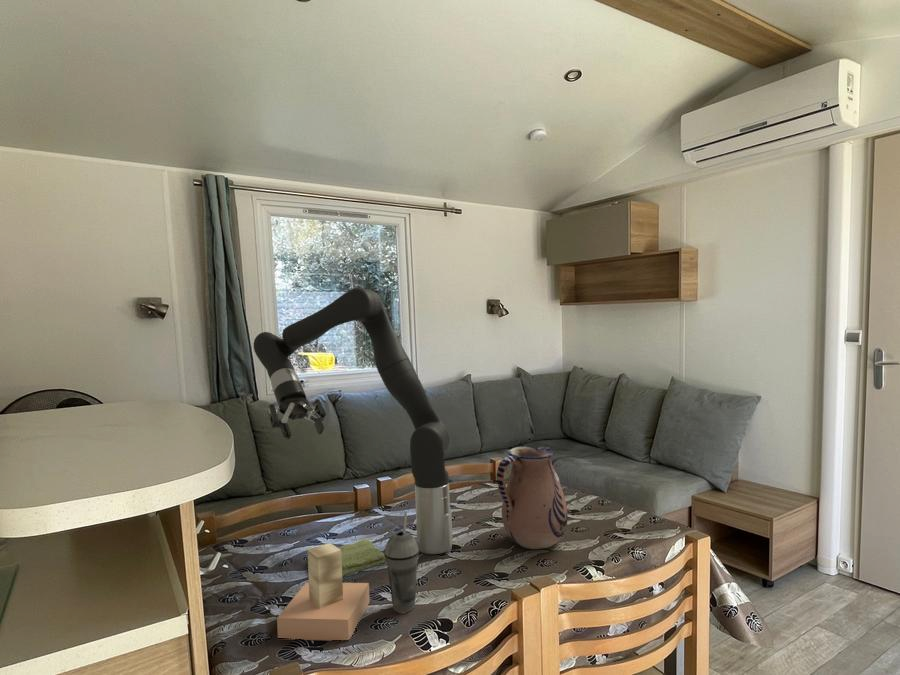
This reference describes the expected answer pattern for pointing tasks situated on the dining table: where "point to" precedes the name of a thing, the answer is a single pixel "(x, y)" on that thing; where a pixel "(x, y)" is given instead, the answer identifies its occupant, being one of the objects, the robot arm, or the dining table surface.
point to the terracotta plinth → (324, 615)
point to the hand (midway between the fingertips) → (305, 434)
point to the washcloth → (360, 556)
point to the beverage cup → (402, 569)
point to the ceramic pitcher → (532, 498)
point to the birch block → (325, 575)
